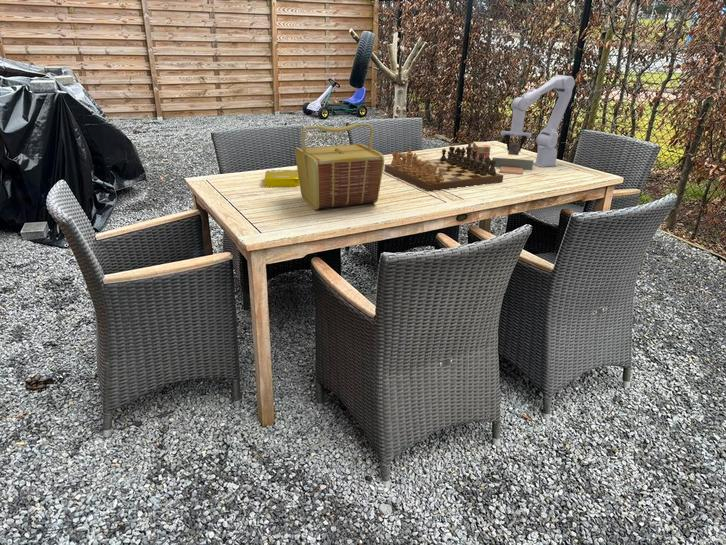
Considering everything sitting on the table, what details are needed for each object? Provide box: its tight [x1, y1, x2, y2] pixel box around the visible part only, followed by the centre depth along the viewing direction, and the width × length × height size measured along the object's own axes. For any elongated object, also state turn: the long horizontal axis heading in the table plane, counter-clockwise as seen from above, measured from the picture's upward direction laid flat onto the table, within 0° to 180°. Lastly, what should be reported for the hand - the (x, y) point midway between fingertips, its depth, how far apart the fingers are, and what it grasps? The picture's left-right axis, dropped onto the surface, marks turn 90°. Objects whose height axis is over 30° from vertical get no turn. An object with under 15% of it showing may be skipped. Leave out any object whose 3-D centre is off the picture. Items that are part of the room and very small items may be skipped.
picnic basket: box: [294, 122, 385, 211], centre depth 198 cm, size 29×26×30 cm
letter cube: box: [507, 142, 521, 156], centre depth 258 cm, size 5×5×5 cm
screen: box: [491, 156, 534, 171], centre depth 260 cm, size 20×2×4 cm, turn 73°
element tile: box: [264, 169, 300, 188], centre depth 229 cm, size 15×15×5 cm
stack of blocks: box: [470, 141, 491, 163], centre depth 261 cm, size 21×6×12 cm, turn 0°
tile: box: [498, 166, 524, 176], centre depth 255 cm, size 11×11×1 cm
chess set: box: [384, 141, 504, 192], centre depth 241 cm, size 40×40×15 cm
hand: (513, 150), depth 258 cm, fingers closed on letter cube, 5 cm apart
